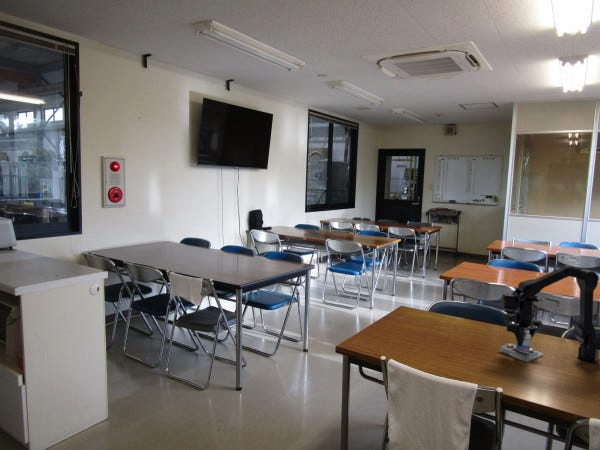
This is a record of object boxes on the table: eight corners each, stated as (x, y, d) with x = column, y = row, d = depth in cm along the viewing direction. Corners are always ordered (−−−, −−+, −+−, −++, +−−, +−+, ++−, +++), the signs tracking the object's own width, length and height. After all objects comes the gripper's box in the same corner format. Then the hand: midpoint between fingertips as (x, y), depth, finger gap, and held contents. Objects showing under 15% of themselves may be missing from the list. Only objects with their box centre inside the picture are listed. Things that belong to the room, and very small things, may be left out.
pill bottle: (517, 347, 191) (519, 326, 190) (531, 350, 187) (532, 329, 187) (514, 350, 187) (516, 329, 186) (528, 353, 183) (530, 332, 182)
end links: (542, 355, 188) (543, 348, 188) (526, 361, 181) (527, 354, 181) (516, 346, 199) (516, 339, 198) (499, 351, 192) (500, 345, 191)
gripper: (520, 303, 197) (517, 335, 199) (496, 309, 187) (494, 343, 189) (544, 309, 188) (541, 343, 189) (520, 315, 178) (518, 351, 179)
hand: (523, 344), depth 187 cm, fingers closed on pill bottle, 5 cm apart
